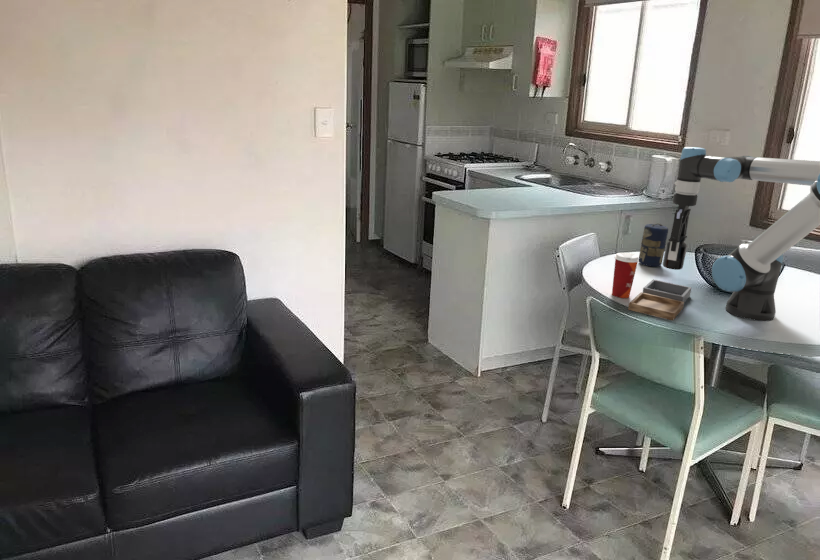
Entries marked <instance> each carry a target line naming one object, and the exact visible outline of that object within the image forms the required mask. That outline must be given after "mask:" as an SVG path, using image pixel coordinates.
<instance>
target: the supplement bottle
mask: <svg viewBox="0 0 820 560" xmlns="http://www.w3.org/2000/svg"><path fill="white" fill-rule="evenodd" d="M686 236H687V234H686V235H684V234H681V235H680V239H679V248H678V253H677V259H676V261H674V260H669V259H668V255H669V249H670V243H671V241H669V240H668V241H666V245H665V250H664V255H663V260H662V266H663V267H664V268H666V269H670V270H676V271H677V270H682V269H683V267H684V263H685V259H686V258H685V257H686V254H687V249H688V244H687V243H686V239H687V238H686ZM674 238H675V237H674Z"/></svg>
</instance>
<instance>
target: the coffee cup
mask: <svg viewBox="0 0 820 560" xmlns="http://www.w3.org/2000/svg"><path fill="white" fill-rule="evenodd" d="M614 259H615V260H614V268H613V280H612V291H611V295H612V296H614V298H620V299H628V298H630V295H631V291H632V287H633V283H634V279H635V274H636V271H637V266H638V263H639V255H636V254H635V253H630V252H617V253H616V255H615V256H614Z"/></svg>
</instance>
